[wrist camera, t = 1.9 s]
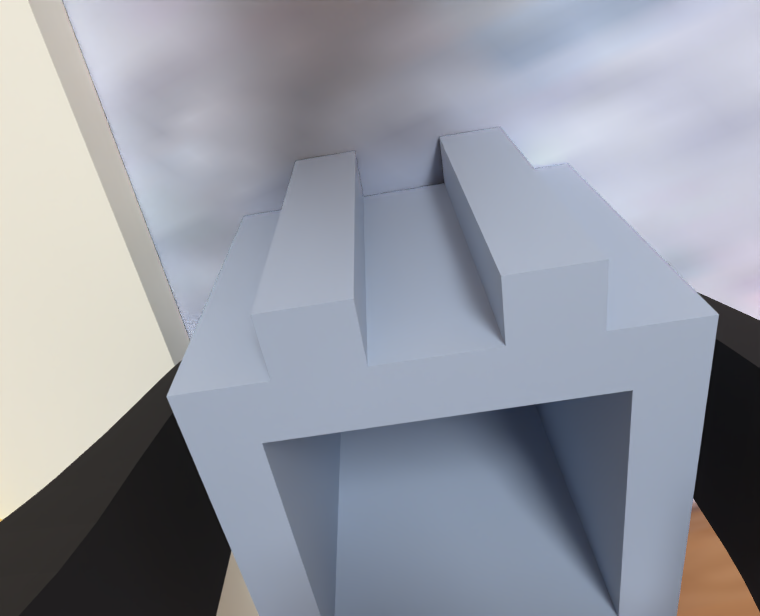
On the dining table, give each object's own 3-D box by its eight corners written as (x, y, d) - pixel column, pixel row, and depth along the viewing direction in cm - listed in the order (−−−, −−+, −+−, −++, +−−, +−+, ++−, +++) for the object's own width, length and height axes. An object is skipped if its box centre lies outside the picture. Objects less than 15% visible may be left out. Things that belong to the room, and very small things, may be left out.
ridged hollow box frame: (568, 444, 14) (668, 674, 9) (319, 479, 14) (302, 719, 10) (568, 115, 10) (729, 241, 6) (231, 171, 10) (139, 331, 6)
